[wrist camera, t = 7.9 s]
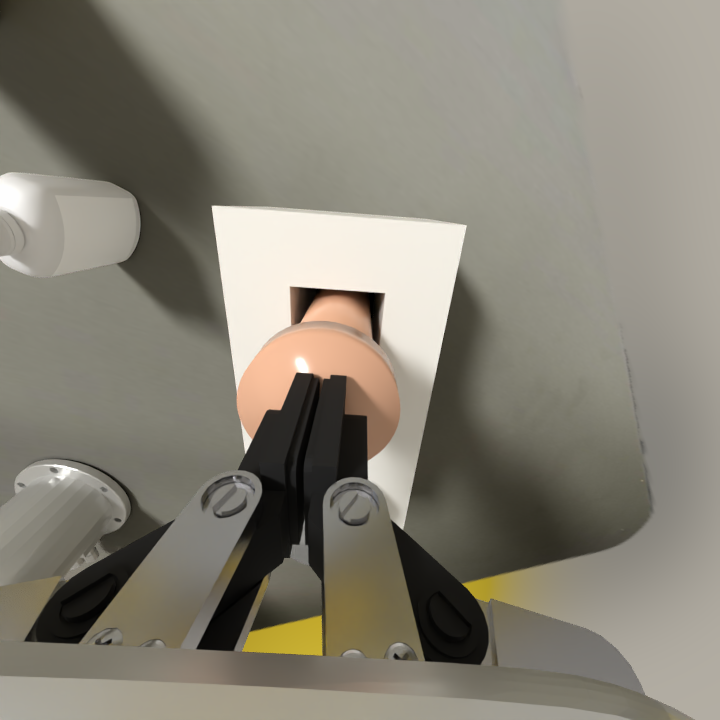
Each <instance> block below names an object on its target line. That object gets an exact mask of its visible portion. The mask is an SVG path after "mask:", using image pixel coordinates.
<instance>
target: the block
mask: <svg viewBox="0 0 720 720" xmlns="http://www.w3.org/2000/svg"><path fill="white" fill-rule="evenodd" d="M212 212H213V219H214V227H215V234H216V241H217V249H218V256H219V263H220V271H221V278H222V285H223V293H224V300H225V308H226V315H227V322H228V330H229V337H230V344H231V352H232V359H233V366H234V374H235V381H236V388H237V391H238V387H239V383H240V380H241V378H242V376H243V374H244V372H245V370H246V369H247V367H248V366H249V365H250V363H251V362H252V360H253V359H254V358H255V356H256V355H257V354H258V352H259V351H260V349H261V348H262V347H263V345H264V344H265V343H266V342H267V341H268V340H269V339H270V338H271V337H273V336H274V335H275V334H277V333H278V332H280V331H282V330H283V329H285V328H287V327H290V326H292V325H295V324H299V323H301V321H302V319H303V317H304V316H305V314H306V312H307V310H308V308H309V307H310V305H311V303H312V301H313V299H314V297H315V296H316V288H320V289H334V290H348V291H362V292H375V294H374V305H373V316H372V320H371V328H372V339H373V340H374V341H375V342H376V343H377V344H378V345H379V346H380V347H381V348H382V350H383V351H384V352H385V353H386V355H387V357H388V358H389V360H390V362H391V364H392V367H393V369H394V373H395V378H396V383H397V388H398V393H399V399H400V419H399V423H398V427H397V429H396V431H395V434H394V435H393V437H392V439H391V440H390V442H389V443H388V444H387V445H386V447H385V448H384V449H383V450H382V451H381V452H380V453H378V454H377V455H376V456H374V457H373V458H372V459H370V460H368V480H369V481H371V482H372V483H374V484H375V485H377V486H378V488H379V489H380V490H381V491H382V492H383V494H384V497H385V499H386V502H387V507H388V511H389V515H390V519H391V520H392V521H393V522H395V523H396V524H397V525H398V526H399V527H400V528H401V529H402V530H403V527H404V523H405V518H406V513H407V508H408V503H409V499H410V494H411V489H412V484H413V480H414V475H415V470H416V465H417V460H418V456H419V451H420V446H421V441H422V437H423V432H424V427H425V422H426V417H427V413H428V408H429V403H430V398H431V393H432V389H433V384H434V379H435V374H436V370H437V365H438V360H439V355H440V350H441V346H442V341H443V336H444V331H445V327H446V322H447V317H448V312H449V307H450V303H451V298H452V293H453V288H454V283H455V279H456V274H457V269H458V264H459V260H460V255H461V250H462V245H463V240H464V236H465V231H466V226H467V225H462V224H455V223H449V222H443V221H437V220H431V219H421V218H408V217H396V216H383V215H370V214H357V213H344V212H331V211H318V210H305V209H292V208H279V207H251V206H212ZM241 425H242V422H241ZM242 432H243V440H244V447H245V454H246V452H247V450H248V448H249V446H250V444H251V442H252V439H251V438H250V436H249V435H248V433H247V432H246V430H245V428H244V427H243V425H242Z"/></svg>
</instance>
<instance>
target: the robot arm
mask: <svg viewBox="0 0 720 720" xmlns="http://www.w3.org/2000/svg"><path fill="white" fill-rule="evenodd" d="M346 382H347V376H344V375H330V379H325V378H324V380H323V384H322V389H321V393H320V397H319V390H320V380H319V378H314V374H313V373H299V372H297V373H296V375H295V377H294V379H293V382H292V384H291V387H290V389H289V391H288V394H287V396H286V399H285V401H284V403H283V406H282V408H281V410H272V409H269V410H267V411H266V413H265V415H264V417H263V419H262V421H261V423H260V425H259V427H258V429H257V431H256V433H255V436H254V438H253V440H252V442H251V444H250V446H249V448H248V450H247V452H246V454H245V456H244V458H243V460H242V462H241V464H240V467H239V469H238V470H234V471H228V472H224V473H221V474H219V475H216V476H214V477H213V478H211V479H210V480H208V481H207V482H206V483H205V484H204V485H203V486H202V487H201V488H200V489H199V490H198V491H197V492H196V494H195V495H194V496H193V497H192V499H191V500H190V501H189V503H188V504H187V505H186V506H185V508H184V509H183V510H182V512H181V513H180V514H179V515H178V517H177V518H176V519H175V520H173V521H171V522H169V523H167V524H166V525H164V526H162V527H160V528H158V529H157V530H155V531H153V532H151V533H149V534H148V535H146V536H144V537H142V538H140V539H138V540H137V541H135V542H133V543H131V544H129V545H128V546H126V547H124V548H122V549H120V550H119V551H117V552H115V553H113V554H111V555H109V556H108V557H106V558H104V559H102V560H100V561H99V562H97V563H95V564H93V565H91V566H90V567H88V568H86V569H84V570H83V571H81V572H80V573H78V574H77V575H75V576H74V577H72V578H71V579H70V580H65V579H64V577H65V575H66V574H67V573H68V572H69V570H73V569H76V568H77V567H79V566H80V565H81V564H82V563H83V562H84V561H85V562H86V563H92V562H94V561H95V560H96V559H97V558H98V557H99V553H98V551H97V549H96V547H94V546H95V545H96V543H97V542H98V541H99V540H100V538H101V537H102V536H103V535H104V534H108V533H111V532H113V531H116V530H117V529H119V528H120V527H121V526H122V525H123V524H124V522H125V521H126V520H127V518H128V517H129V515H130V511H131V506H130V501H129V499H128V496H127V495H126V493H125V492H124V490H123V489H122V488H121V487H120V486H119V485H118V484H117V483H116V482H115V481H114V480H113V479H111V478H110V477H109V476H107V475H105V474H104V473H102V472H101V471H99V470H97V469H94V468H92V467H90V466H87V465H84V464H81V463H78V462H74V461H69V460H60V459H49V460H42V461H38V462H35V463H33V464H31V465H29V466H28V467H27V468H26V469H24V470H23V471H22V472H20V473H19V475H18V476H17V477H16V480H15V492H16V495H15V496H14V497H13V498H11V499H10V500H9V501H8V502H7V503H5V504H4V505H3V506H2V507H1V508H0V720H695V719H693V718H691V717H689V716H687V715H685V714H684V713H682V712H680V711H678V710H676V709H675V708H673V707H670V706H668V705H666V704H663V703H661V702H659V701H657V700H654V699H652V698H650V697H648V696H646V695H645V693H644V691H643V688H642V686H641V684H640V682H639V680H638V678H637V676H636V674H635V673H634V671H633V669H632V667H631V665H630V664H629V663H628V662H627V660H626V659H625V658H624V657H623V656H622V654H621V653H620V652H619V651H618V650H617V649H616V648H615V647H614V646H613V645H612V644H610V643H609V642H608V641H607V640H606V639H604V638H603V637H602V636H601V635H598V634H596V633H594V632H592V631H590V630H588V629H586V628H583V627H580V626H576V625H573V624H570V623H567V622H563V621H561V620H557V619H554V618H551V617H548V616H545V615H541V614H538V613H535V612H532V611H529V610H526V609H523V608H519V607H516V606H513V605H510V604H506V603H503V602H500V601H497V600H494V599H490V601H489V603H488V602H484V601H481V600H478V599H475V598H474V596H473V595H472V594H471V593H470V592H469V591H468V589H467V588H466V587H464V586H463V585H462V584H461V583H460V582H459V581H458V580H457V579H456V578H455V577H454V576H452V575H451V574H450V573H449V572H448V571H447V570H446V569H445V568H444V567H443V566H441V565H440V564H439V563H438V562H437V561H436V560H435V559H434V558H433V557H432V556H431V555H429V554H428V553H427V552H426V551H425V550H424V549H423V548H422V547H421V546H420V545H419V544H417V543H416V542H415V541H414V540H413V539H412V538H411V537H410V536H409V535H408V534H407V533H405V532H404V531H403V530H402V529H401V528H400V527H399V526H398V525H397V524H396V523H395V522H393V521H392V520H391V519H390V515H389V511H388V507H387V502H386V499H385V497H384V494H383V492H382V491H381V490H380V489H379V488H378V486H377V485H375V484H374V483H372V482H371V481H369V480H368V444H367V416H365V415H350V414H345V399H346ZM304 520H305V545H308V564H309V565H310V566H311V568H312V569H313V570H314V572H315V573H316V574H317V576H318V577H319V578H320V580H321V599H322V652H323V656H315V655H296V654H276V653H256V652H242V650H243V647H244V644H245V642H246V639H247V637H248V634H249V632H250V629H251V627H252V624H253V622H254V619H255V617H256V614H257V611H258V609H259V606H260V604H261V601H262V599H263V596H264V594H265V591H266V589H267V586H268V584H269V580H270V576H271V572H272V571H273V570H274V569H275V568H277V567H278V566H279V565H280V564H282V563H283V560H284V558H290V555H291V550H292V545H299V544H300V541H301V536H302V531H303V525H304Z"/></svg>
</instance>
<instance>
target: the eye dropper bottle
mask: <svg viewBox="0 0 720 720" xmlns="http://www.w3.org/2000/svg"><path fill="white" fill-rule="evenodd" d="M140 227H141V222H140V213H139V207H138V204H137V200H136V199H135V197H134V196H133V195H132V194H131V193H130V192H128V191H126V190H125V189H123V188H121V187H119V186H117V185H115V184H112V183H110V182H106V181H98V180H89V179H79V178H70V177H60V176H50V175H40V174H29V173H16V172H12V173H6V174H4V175H2V176H0V259H1V261H2V262H3V263H4V264H6V265H7V266H9V267H10V268H12V269H14V270H16V271H19V272H21V273H24V274H26V275H29V276H32V277H37V278H49V277H54V276H59V275H64V274H69V273H74V272H78V271H83V270H88V269H92V268H97V267H102V266H106V265H111V264H115V263H120V262H123V261H125V260H127V259H128V258H129V257H130V256H131V254H132V253H133V251H134V250H135V248H136V245H137V243H138V240H139V236H140Z"/></svg>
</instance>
